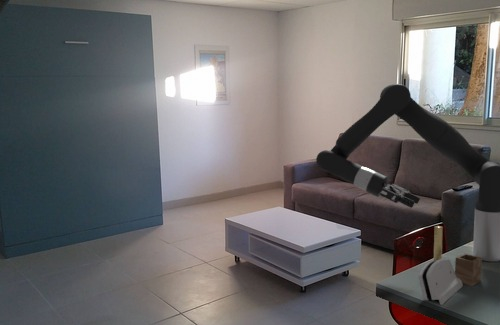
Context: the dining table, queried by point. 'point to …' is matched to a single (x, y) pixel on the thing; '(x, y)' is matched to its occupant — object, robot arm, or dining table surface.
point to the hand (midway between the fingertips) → (416, 202)
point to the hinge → (439, 280)
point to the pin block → (468, 269)
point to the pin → (438, 242)
